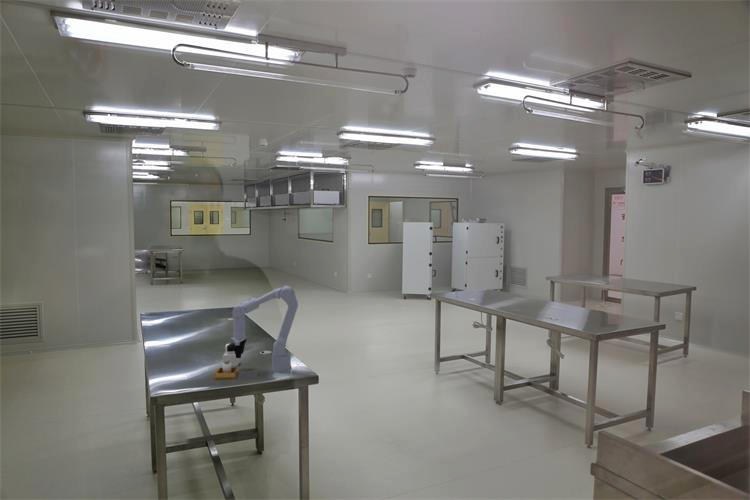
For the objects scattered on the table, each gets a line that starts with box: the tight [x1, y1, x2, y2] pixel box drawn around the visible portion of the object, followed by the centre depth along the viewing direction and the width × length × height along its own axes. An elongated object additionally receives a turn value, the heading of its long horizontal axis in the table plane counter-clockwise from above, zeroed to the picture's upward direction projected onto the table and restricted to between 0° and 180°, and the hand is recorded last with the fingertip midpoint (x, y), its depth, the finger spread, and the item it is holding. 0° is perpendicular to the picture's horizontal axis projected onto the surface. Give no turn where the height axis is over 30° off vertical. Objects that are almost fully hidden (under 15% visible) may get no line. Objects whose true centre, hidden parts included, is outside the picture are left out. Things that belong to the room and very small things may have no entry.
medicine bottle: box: [222, 342, 241, 367], centre depth 255 cm, size 7×7×12 cm
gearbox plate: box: [213, 366, 261, 381], centre depth 238 cm, size 20×13×4 cm, turn 96°
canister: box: [222, 361, 232, 373], centre depth 238 cm, size 4×4×7 cm
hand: (239, 355), depth 243 cm, fingers open, 7 cm apart
